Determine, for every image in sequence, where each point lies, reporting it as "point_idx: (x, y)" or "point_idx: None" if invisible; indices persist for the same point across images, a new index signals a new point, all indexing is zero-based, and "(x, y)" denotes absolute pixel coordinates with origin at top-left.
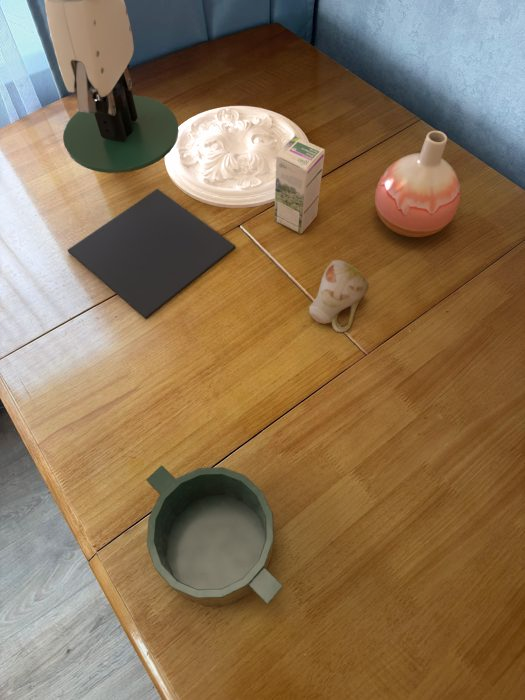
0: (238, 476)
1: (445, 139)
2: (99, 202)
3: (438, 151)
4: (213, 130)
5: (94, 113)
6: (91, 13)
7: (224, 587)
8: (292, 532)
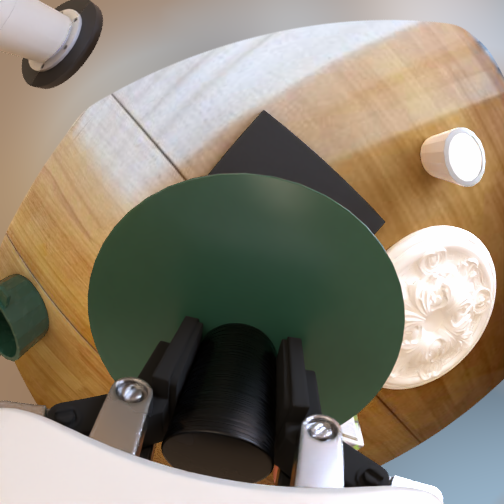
0: (17, 347)
1: None
2: (361, 139)
3: None
4: (463, 293)
5: (158, 365)
6: None
7: None
8: (45, 348)
